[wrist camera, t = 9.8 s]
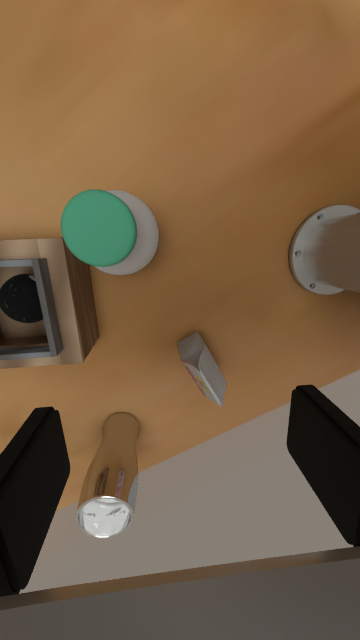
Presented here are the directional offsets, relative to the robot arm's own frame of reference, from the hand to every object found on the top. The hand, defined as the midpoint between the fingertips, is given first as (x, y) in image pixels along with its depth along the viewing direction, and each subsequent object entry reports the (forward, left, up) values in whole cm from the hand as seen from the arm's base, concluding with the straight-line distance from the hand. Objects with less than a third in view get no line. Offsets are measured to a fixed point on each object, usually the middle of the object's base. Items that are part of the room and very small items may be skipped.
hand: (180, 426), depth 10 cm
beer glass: (+8, +23, -28) cm, 37 cm away
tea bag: (-5, +10, -29) cm, 31 cm away
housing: (+17, -1, -28) cm, 33 cm away
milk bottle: (+4, -8, -28) cm, 30 cm away
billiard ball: (+17, -1, -27) cm, 32 cm away
